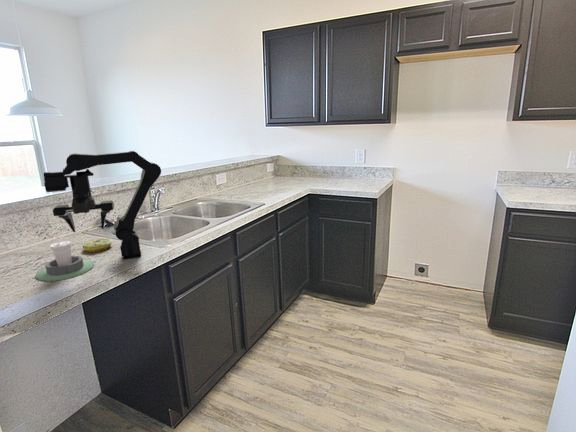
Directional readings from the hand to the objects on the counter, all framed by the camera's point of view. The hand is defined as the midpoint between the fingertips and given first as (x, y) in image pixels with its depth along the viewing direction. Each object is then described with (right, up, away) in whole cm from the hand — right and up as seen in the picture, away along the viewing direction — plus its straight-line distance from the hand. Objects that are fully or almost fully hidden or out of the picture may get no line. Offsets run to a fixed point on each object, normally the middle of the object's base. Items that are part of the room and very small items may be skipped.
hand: (88, 230), depth 125 cm
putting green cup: (-7, -14, -3) cm, 16 cm away
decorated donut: (-7, -9, +19) cm, 22 cm away
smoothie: (-7, -14, -3) cm, 16 cm away
